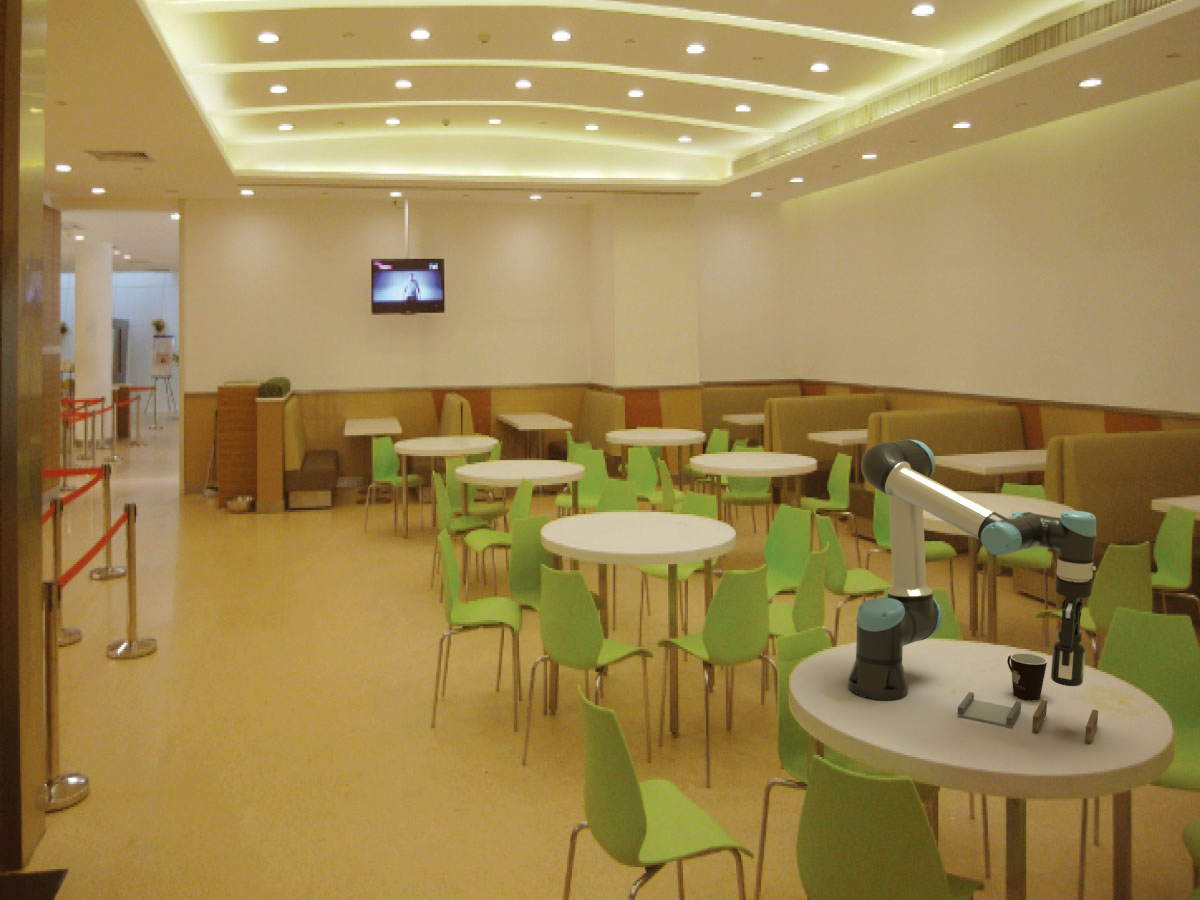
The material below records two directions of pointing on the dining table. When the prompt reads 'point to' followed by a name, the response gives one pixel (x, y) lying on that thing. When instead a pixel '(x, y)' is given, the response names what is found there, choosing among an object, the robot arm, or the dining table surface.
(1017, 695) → the coffee mug
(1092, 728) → the walnut cradle
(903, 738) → the dining table surface
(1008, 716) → the slate pad
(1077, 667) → the supplement bottle
